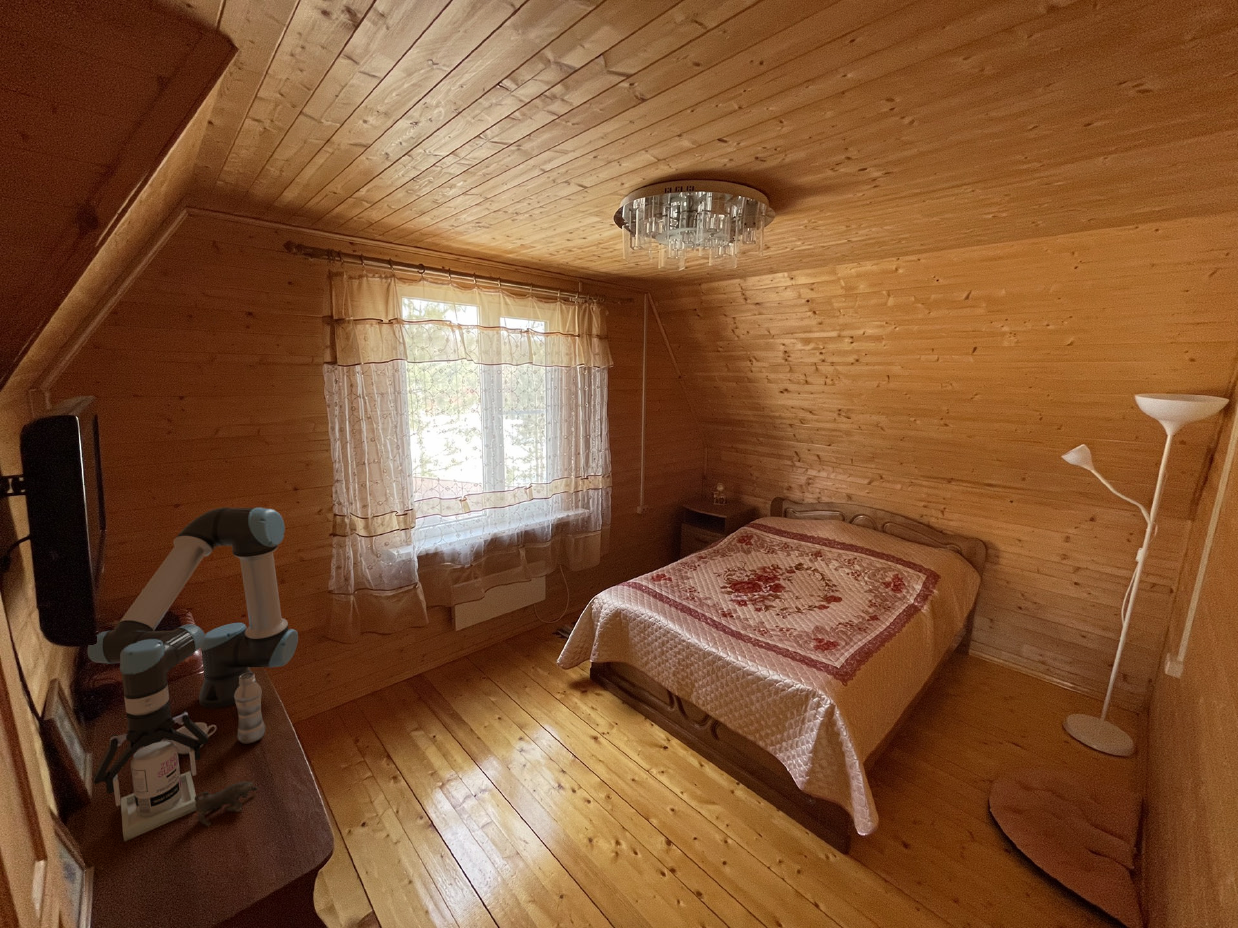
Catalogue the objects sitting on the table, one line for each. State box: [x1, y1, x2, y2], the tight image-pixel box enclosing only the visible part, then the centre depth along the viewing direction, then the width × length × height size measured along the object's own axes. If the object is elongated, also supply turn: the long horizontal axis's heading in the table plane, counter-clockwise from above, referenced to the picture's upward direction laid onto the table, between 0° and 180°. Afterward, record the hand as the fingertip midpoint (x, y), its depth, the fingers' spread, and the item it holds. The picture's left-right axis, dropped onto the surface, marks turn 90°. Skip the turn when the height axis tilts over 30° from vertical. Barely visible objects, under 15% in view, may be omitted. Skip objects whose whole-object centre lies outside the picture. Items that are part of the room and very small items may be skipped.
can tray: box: [120, 770, 197, 843], centre depth 124 cm, size 13×13×2 cm
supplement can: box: [130, 739, 182, 817], centre depth 123 cm, size 8×8×15 cm
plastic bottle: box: [234, 672, 266, 745], centre depth 147 cm, size 6×7×20 cm
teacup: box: [170, 721, 217, 755], centre depth 145 cm, size 10×8×5 cm
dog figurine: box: [194, 780, 258, 827], centre depth 124 cm, size 12×6×7 cm, turn 129°
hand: (157, 786), depth 123 cm, fingers open, 13 cm apart
